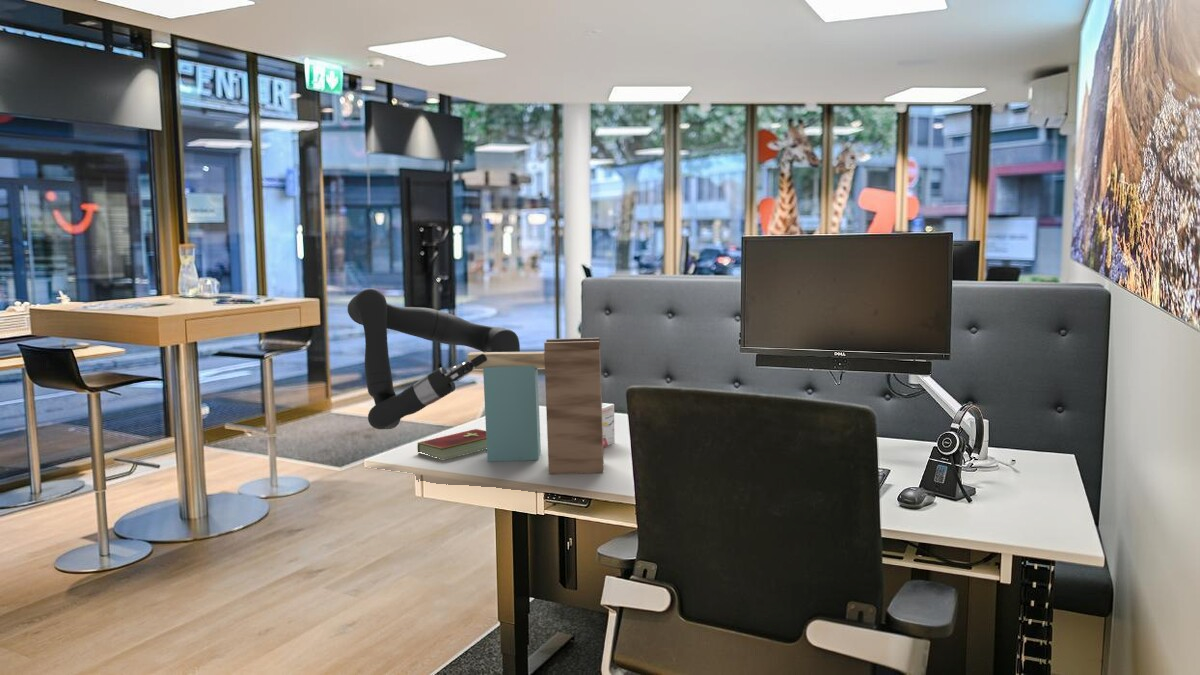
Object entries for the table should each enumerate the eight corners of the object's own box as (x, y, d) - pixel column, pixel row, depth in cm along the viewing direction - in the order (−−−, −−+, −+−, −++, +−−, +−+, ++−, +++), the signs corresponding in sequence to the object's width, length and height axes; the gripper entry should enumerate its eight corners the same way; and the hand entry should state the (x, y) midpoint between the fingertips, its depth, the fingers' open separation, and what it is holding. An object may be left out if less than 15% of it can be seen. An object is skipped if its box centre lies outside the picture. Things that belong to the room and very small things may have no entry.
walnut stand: (551, 463, 232) (547, 338, 228) (603, 462, 232) (599, 337, 228) (548, 474, 222) (543, 343, 218) (603, 472, 222) (599, 342, 218)
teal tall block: (491, 453, 245) (487, 363, 241) (540, 452, 244) (537, 362, 241) (487, 461, 237) (483, 367, 233) (538, 460, 236) (534, 366, 233)
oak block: (470, 366, 240) (469, 352, 239) (560, 365, 239) (559, 351, 238) (467, 369, 236) (467, 354, 235) (559, 367, 235) (558, 353, 235)
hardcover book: (417, 455, 247) (417, 441, 246) (475, 441, 262) (475, 427, 262) (442, 462, 239) (442, 447, 238) (501, 447, 254) (500, 433, 253)
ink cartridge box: (600, 449, 246) (599, 398, 244) (586, 447, 248) (584, 397, 247) (615, 442, 253) (614, 393, 251) (601, 441, 256) (599, 392, 254)
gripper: (421, 379, 231) (475, 347, 230) (432, 371, 245) (483, 340, 244) (436, 403, 232) (490, 370, 230) (446, 393, 246) (497, 362, 244)
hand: (486, 355), depth 237 cm, fingers closed on oak block, 4 cm apart
